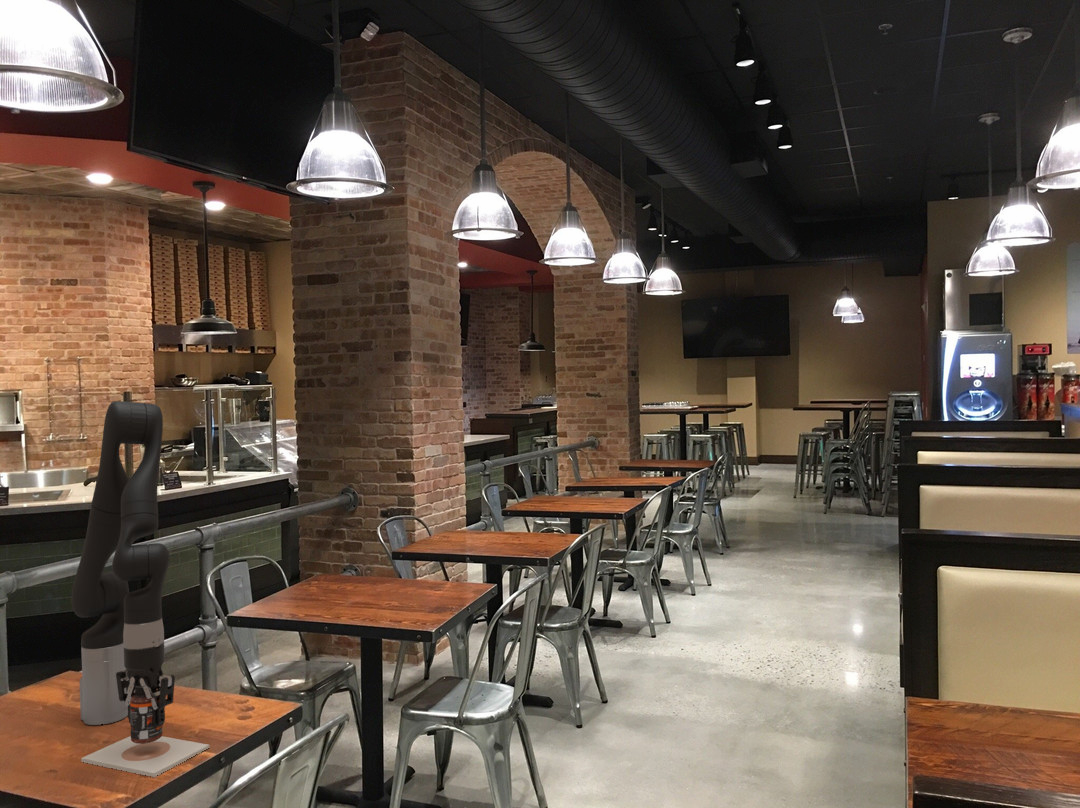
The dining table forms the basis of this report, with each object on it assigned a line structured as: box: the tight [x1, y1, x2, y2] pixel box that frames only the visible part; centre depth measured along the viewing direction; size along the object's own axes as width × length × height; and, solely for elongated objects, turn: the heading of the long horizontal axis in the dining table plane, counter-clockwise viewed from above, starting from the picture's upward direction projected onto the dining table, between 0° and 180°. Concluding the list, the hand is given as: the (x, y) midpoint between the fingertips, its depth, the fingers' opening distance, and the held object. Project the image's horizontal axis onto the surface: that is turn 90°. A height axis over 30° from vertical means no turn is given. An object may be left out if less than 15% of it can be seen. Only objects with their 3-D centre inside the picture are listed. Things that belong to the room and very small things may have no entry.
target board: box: [80, 735, 211, 778], centre depth 171 cm, size 20×14×1 cm
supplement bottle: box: [130, 685, 164, 744], centre depth 171 cm, size 6×6×11 cm
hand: (146, 723), depth 171 cm, fingers closed on supplement bottle, 6 cm apart
